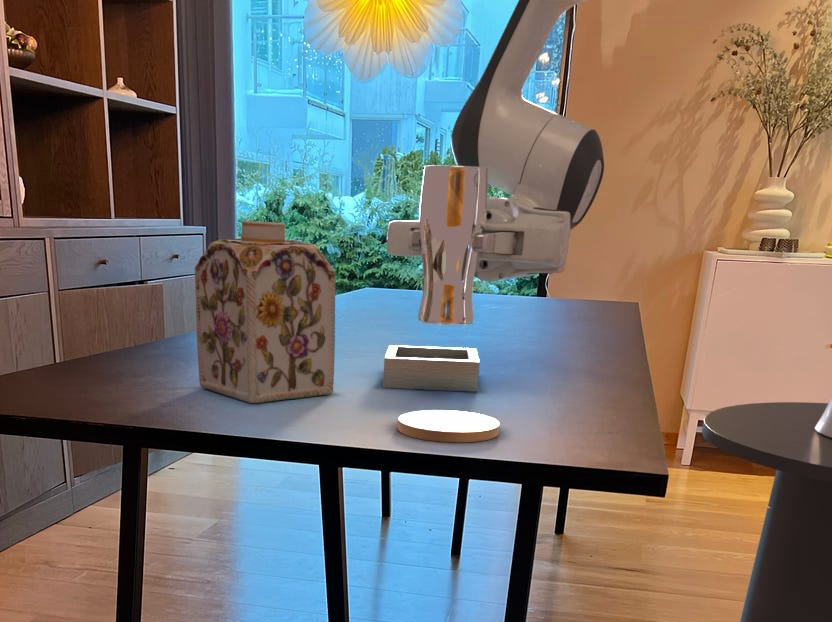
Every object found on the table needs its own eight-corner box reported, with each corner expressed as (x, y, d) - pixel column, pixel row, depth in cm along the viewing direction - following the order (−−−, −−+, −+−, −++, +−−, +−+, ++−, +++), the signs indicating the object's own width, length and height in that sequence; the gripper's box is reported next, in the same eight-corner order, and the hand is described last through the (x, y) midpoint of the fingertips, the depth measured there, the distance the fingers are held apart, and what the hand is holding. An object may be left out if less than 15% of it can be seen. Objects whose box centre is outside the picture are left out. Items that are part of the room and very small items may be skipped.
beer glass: (459, 327, 94) (471, 165, 87) (402, 321, 97) (409, 165, 90) (488, 322, 99) (501, 168, 92) (432, 316, 102) (442, 168, 96)
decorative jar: (196, 387, 105) (189, 218, 97) (278, 379, 112) (277, 220, 104) (252, 405, 97) (248, 222, 89) (337, 395, 103) (341, 223, 96)
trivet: (495, 422, 93) (496, 412, 92) (501, 444, 84) (502, 434, 83) (399, 417, 93) (400, 408, 93) (395, 439, 84) (395, 429, 84)
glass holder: (474, 376, 118) (476, 348, 117) (477, 392, 108) (479, 362, 106) (387, 372, 119) (389, 345, 117) (383, 387, 109) (384, 357, 107)
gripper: (418, 208, 108) (361, 206, 97) (584, 211, 99) (542, 210, 88) (415, 264, 110) (360, 269, 100) (577, 273, 101) (535, 279, 91)
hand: (446, 242), depth 94 cm, fingers closed on beer glass, 6 cm apart
